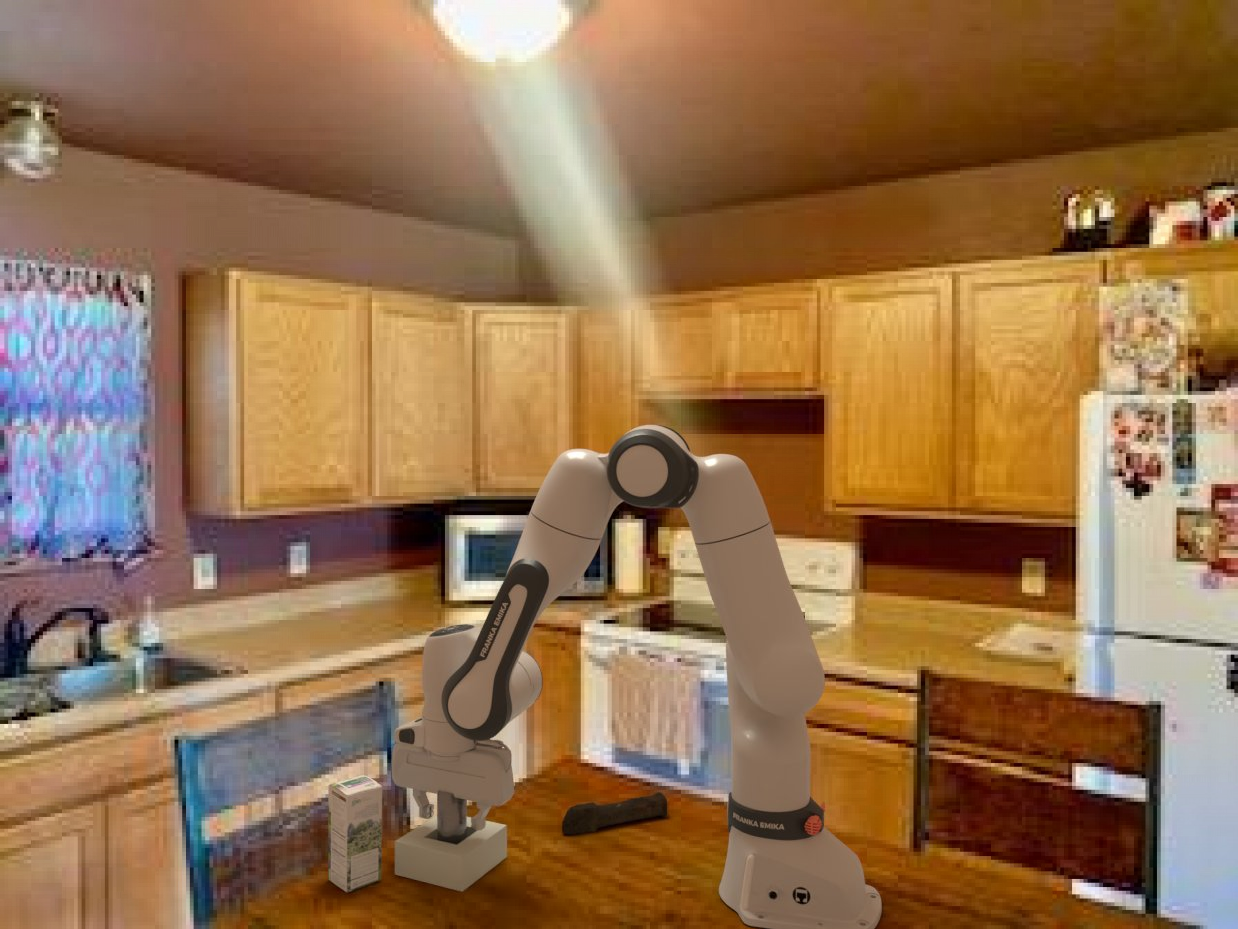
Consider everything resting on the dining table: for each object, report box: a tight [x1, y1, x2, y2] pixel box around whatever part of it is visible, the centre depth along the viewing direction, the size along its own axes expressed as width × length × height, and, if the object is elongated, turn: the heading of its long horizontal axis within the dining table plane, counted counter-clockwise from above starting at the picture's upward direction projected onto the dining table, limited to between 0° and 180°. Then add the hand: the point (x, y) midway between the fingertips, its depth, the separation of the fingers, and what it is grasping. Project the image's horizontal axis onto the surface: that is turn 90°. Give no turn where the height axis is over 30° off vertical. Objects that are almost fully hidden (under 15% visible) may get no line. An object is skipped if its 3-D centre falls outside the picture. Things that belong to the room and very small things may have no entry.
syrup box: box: [327, 774, 383, 894], centre depth 135 cm, size 6×6×14 cm
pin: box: [436, 791, 468, 845], centre depth 140 cm, size 4×4×12 cm
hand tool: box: [561, 791, 669, 835], centre depth 155 cm, size 19×4×5 cm, turn 114°
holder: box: [394, 814, 508, 893], centre depth 140 cm, size 12×12×5 cm
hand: (452, 822), depth 140 cm, fingers open, 8 cm apart
